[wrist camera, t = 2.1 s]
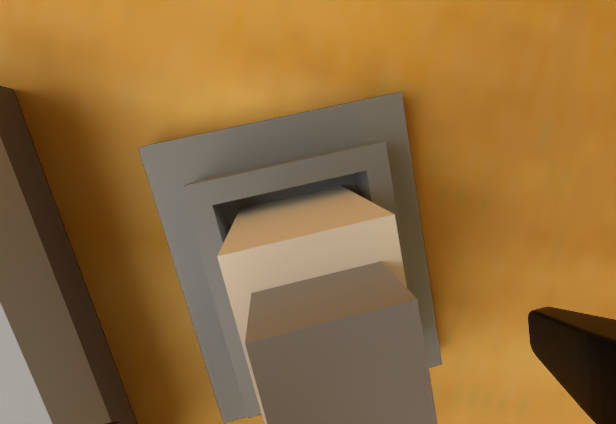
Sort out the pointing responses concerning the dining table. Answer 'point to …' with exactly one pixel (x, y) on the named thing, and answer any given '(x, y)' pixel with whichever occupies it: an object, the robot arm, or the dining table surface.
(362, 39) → the dining table surface
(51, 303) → the port
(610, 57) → the dining table surface
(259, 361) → the plug
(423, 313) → the holster
